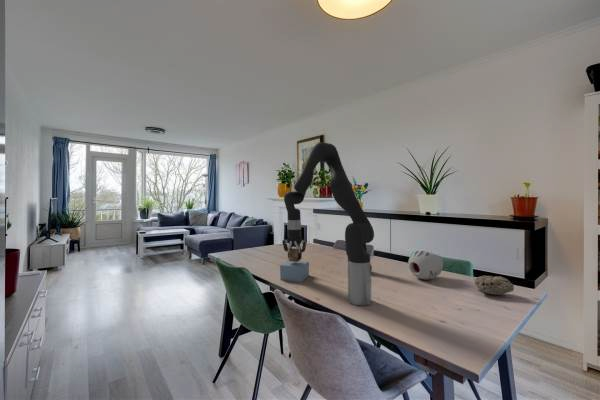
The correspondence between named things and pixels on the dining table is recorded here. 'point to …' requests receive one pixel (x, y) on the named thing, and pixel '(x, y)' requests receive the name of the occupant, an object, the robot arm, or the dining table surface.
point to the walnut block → (293, 255)
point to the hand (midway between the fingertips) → (294, 259)
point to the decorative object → (425, 264)
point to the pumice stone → (493, 285)
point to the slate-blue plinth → (294, 270)
